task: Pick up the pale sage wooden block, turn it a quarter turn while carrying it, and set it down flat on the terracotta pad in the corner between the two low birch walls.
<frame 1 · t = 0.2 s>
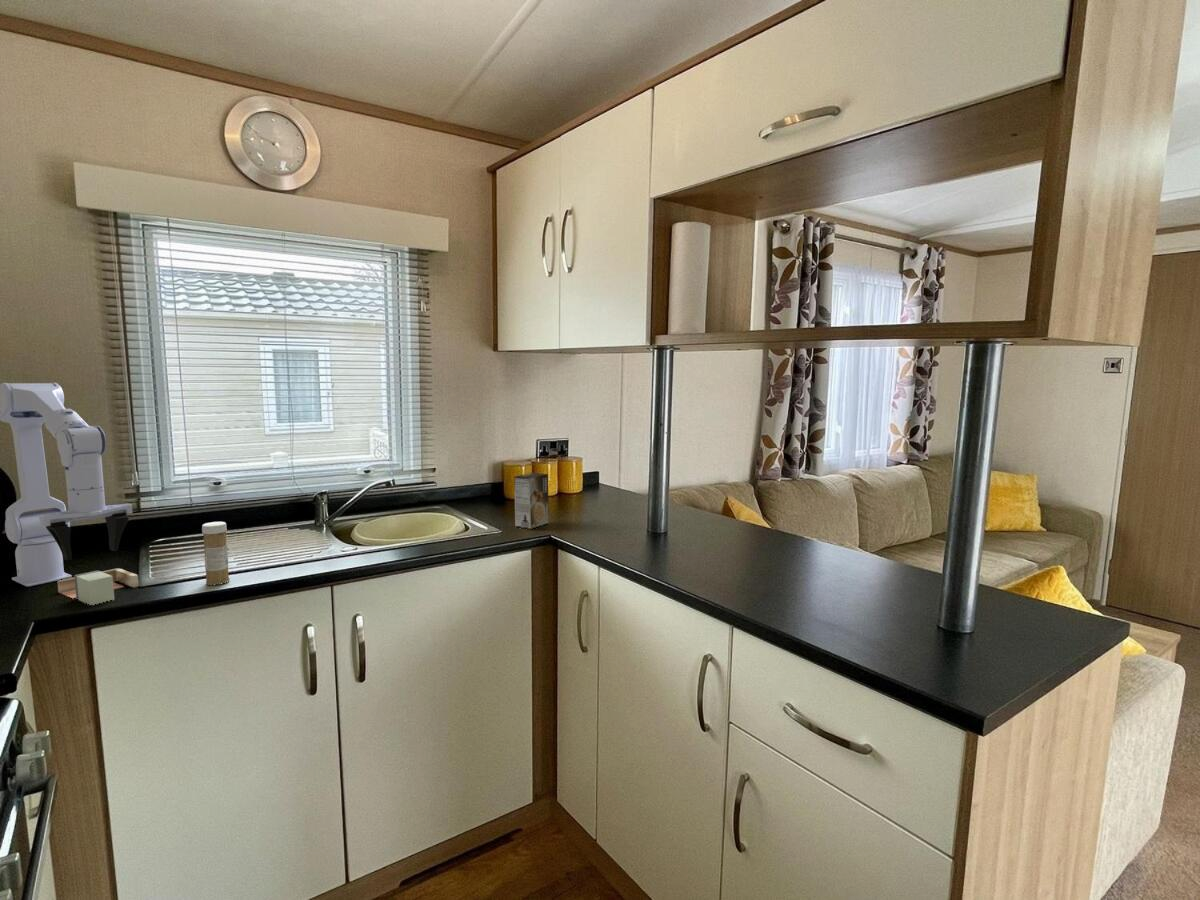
hand: (91, 554, 127), 10 cm above the worktop, tool pointing down, fingers open, 7 cm apart
sprinkles bottle: (218, 583, 140), on the worktop
corner arena: (98, 589, 135), on the worktop
sage block: (95, 599, 129), on the worktop
coffee box: (532, 526, 195), on the worktop
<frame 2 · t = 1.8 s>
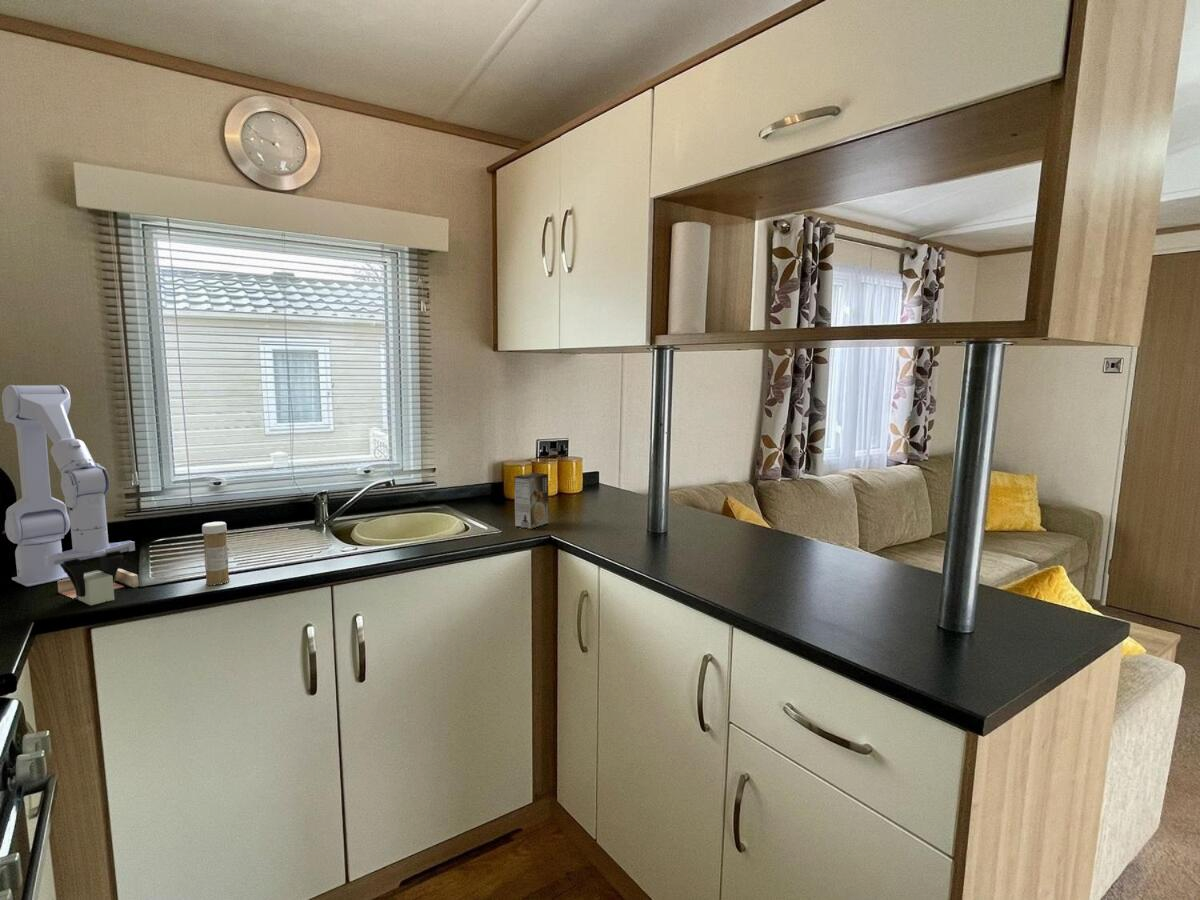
hand: (94, 592, 129), 1 cm above the worktop, tool pointing down, fingers closed on sage block, 4 cm apart
sage block: (95, 599, 129), on the worktop, touching gripper
everything else where it was.
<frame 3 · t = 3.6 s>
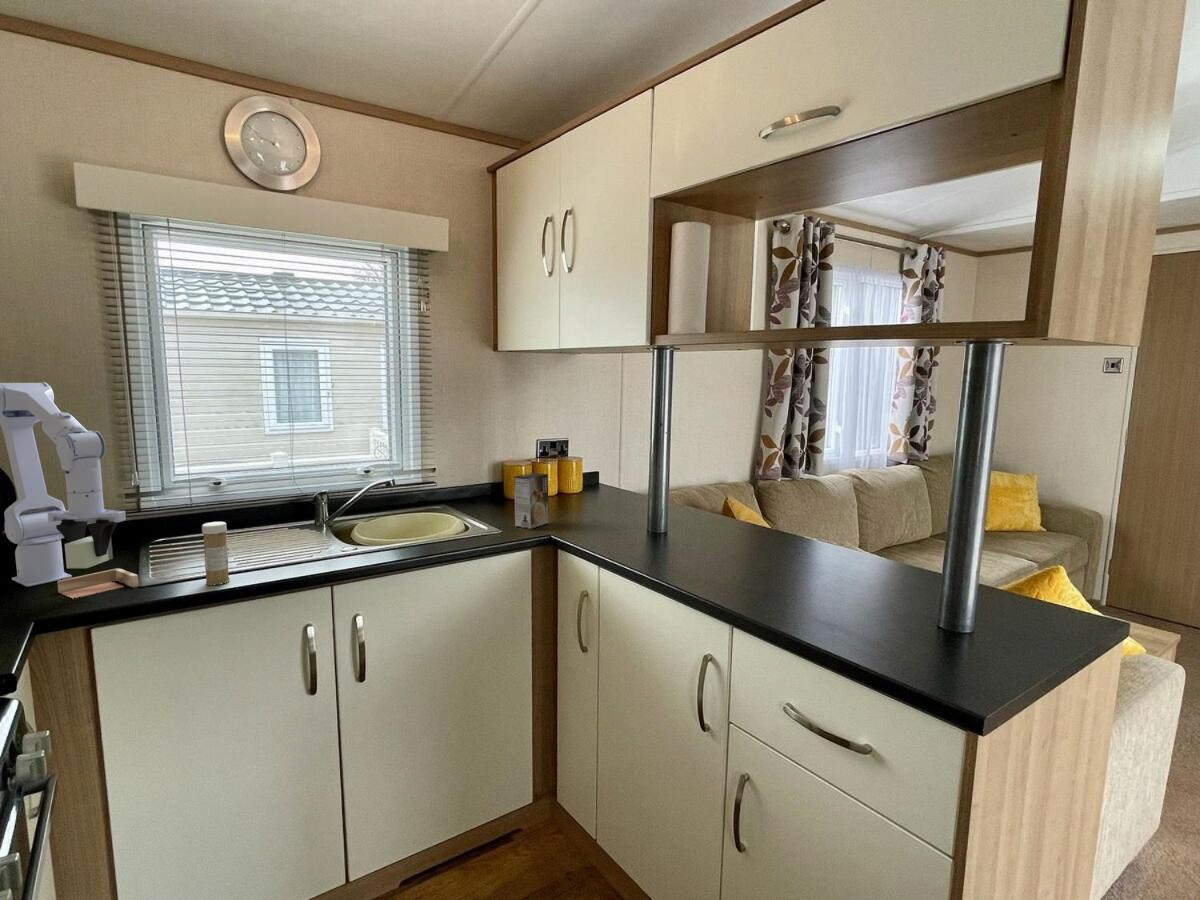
hand: (90, 555, 131), 8 cm above the worktop, tool pointing down, fingers closed on sage block, 4 cm apart
sage block: (90, 563, 131), point 7 cm above the worktop, touching gripper
everything else where it was.
when the fingers open (3 cm above the worktop, at t = 5.2 s): sage block drops 2 cm, resting on corner arena.
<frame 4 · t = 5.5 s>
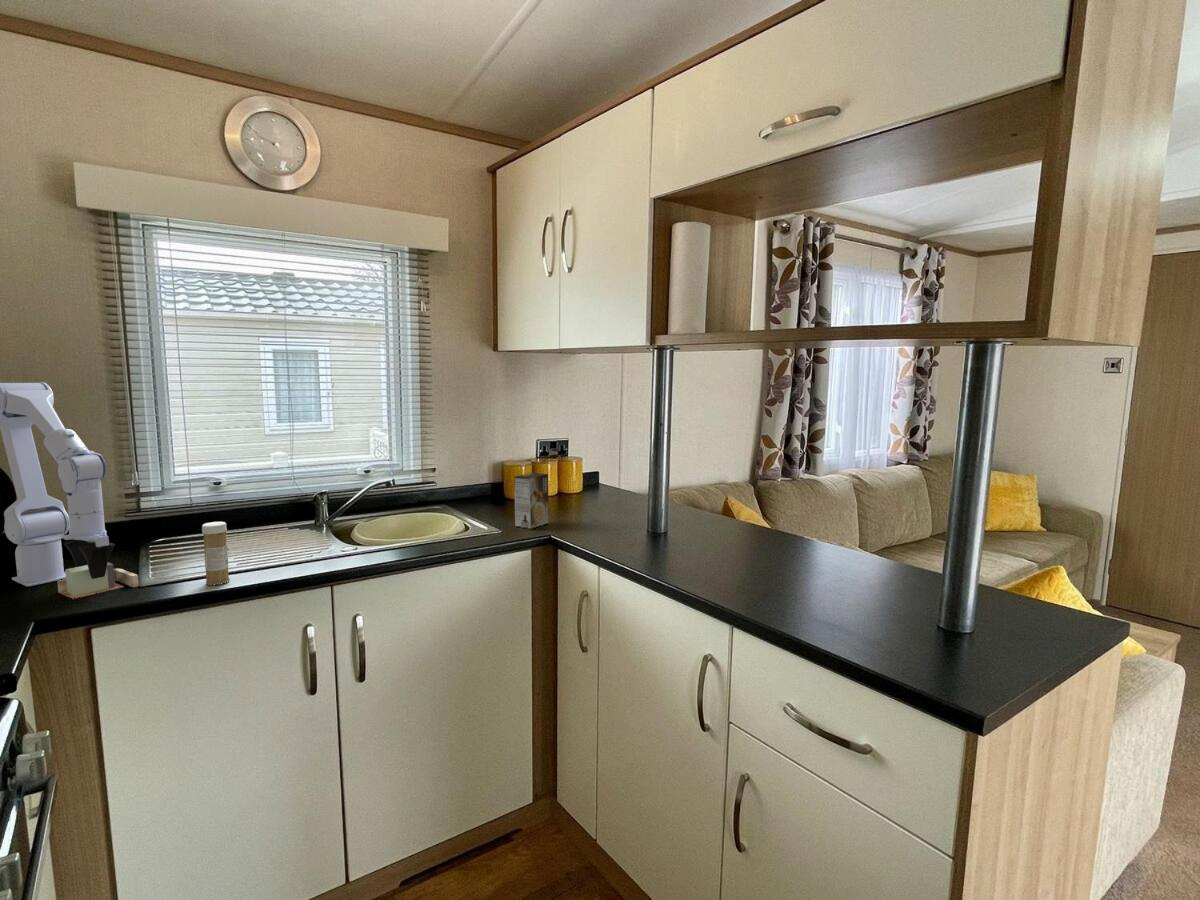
hand: (91, 574, 134), 3 cm above the worktop, tool pointing down, fingers open, 6 cm apart
sage block: (91, 589, 134), resting on corner arena
everything else where it was.
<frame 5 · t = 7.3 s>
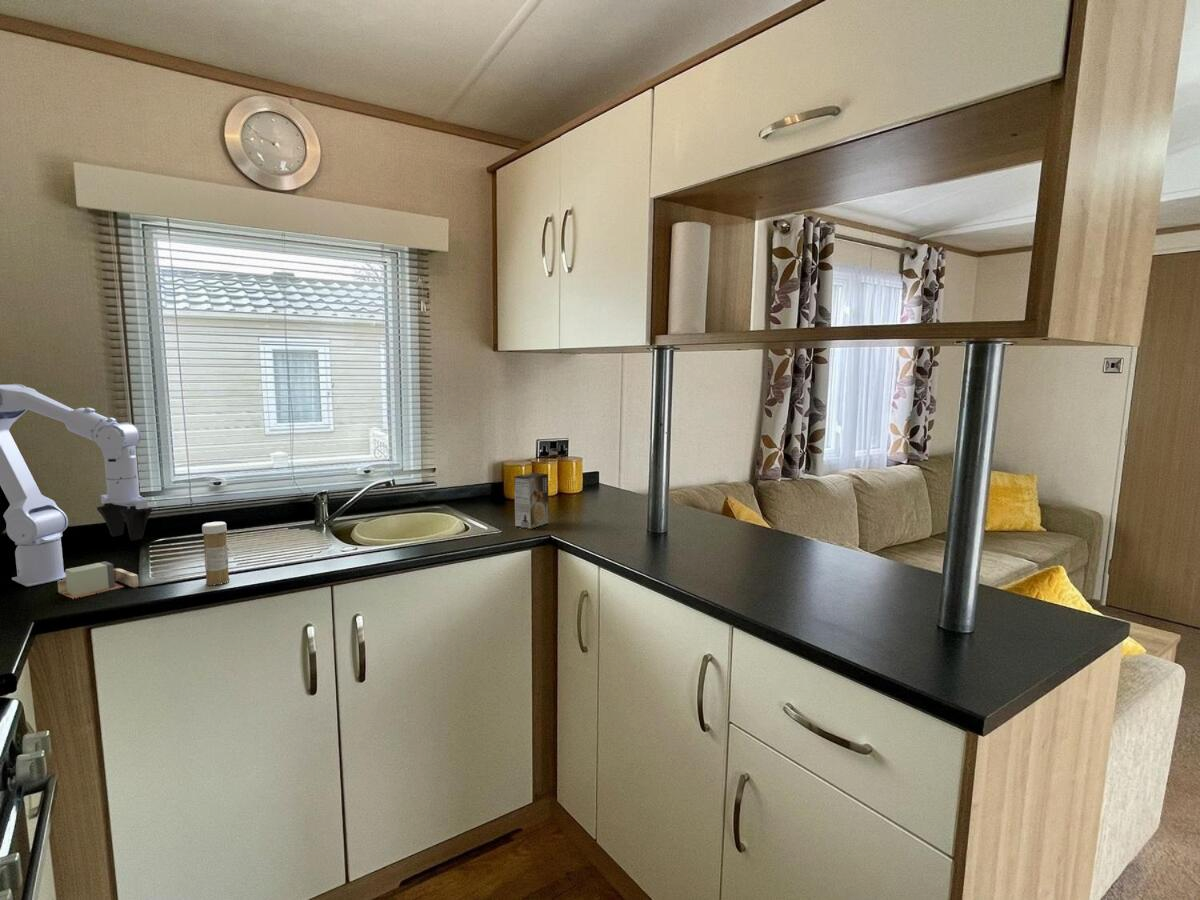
hand: (126, 537, 142), 9 cm above the worktop, tool pointing down, fingers open, 7 cm apart
nothing on the worktop moved.
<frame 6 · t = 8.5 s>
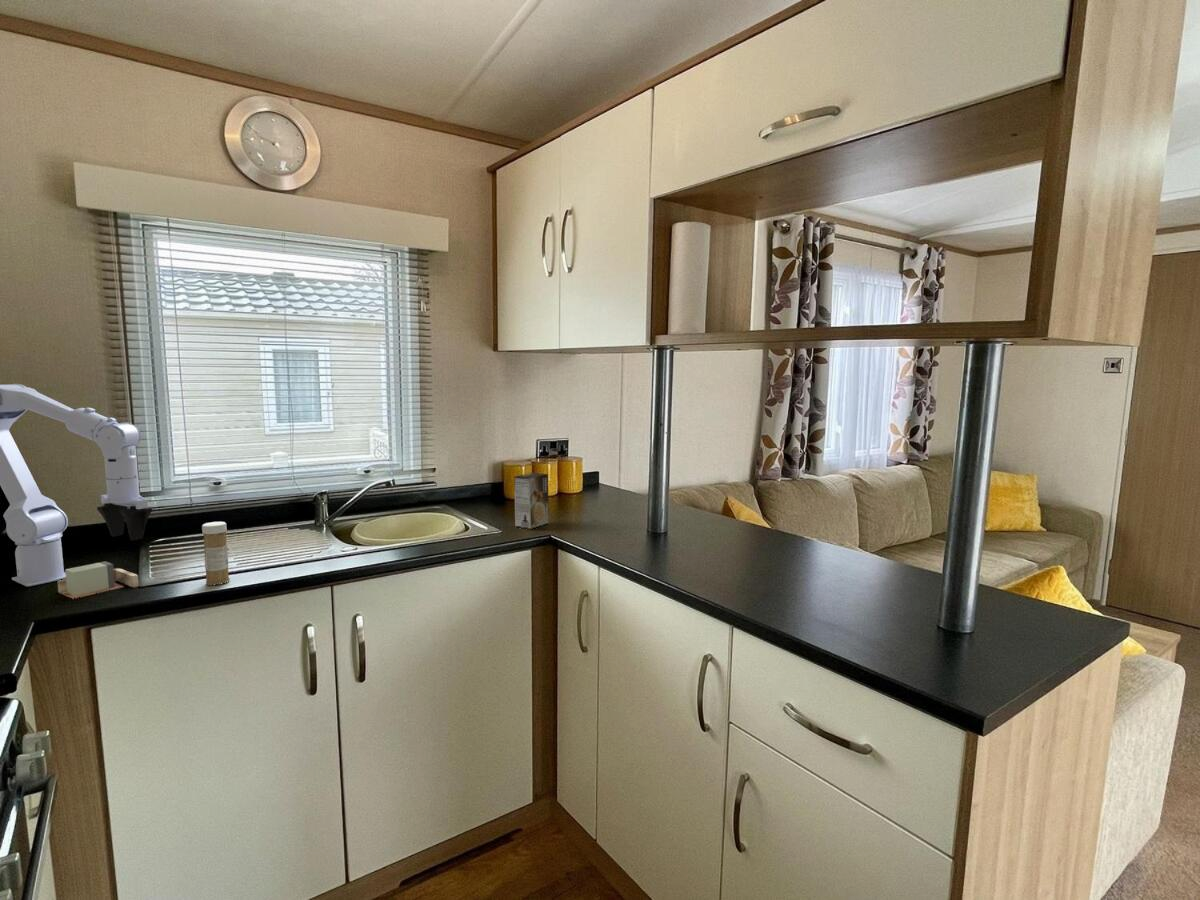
hand: (127, 537, 142), 9 cm above the worktop, tool pointing down, fingers open, 7 cm apart
nothing on the worktop moved.
at the end: sage block 0.2 cm from the target spot, resting on corner arena; sage block tilted 0°; the gripper is holding nothing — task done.
